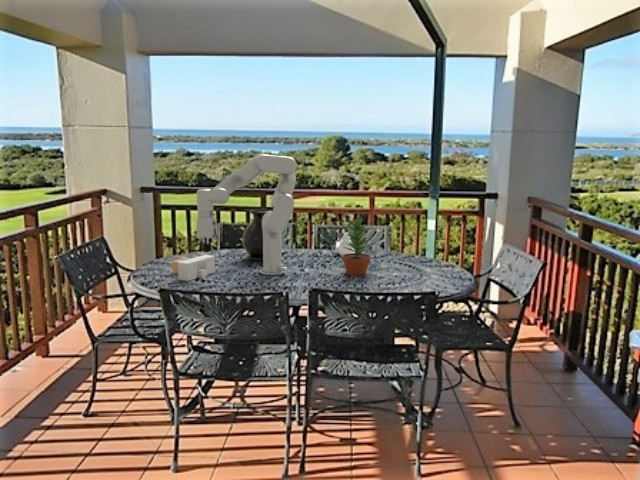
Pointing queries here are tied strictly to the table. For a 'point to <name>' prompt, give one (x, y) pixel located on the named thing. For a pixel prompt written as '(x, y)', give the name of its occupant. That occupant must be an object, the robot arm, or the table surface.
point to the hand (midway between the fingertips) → (207, 251)
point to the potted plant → (356, 250)
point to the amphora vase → (254, 236)
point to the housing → (189, 269)
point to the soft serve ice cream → (344, 245)
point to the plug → (200, 271)
